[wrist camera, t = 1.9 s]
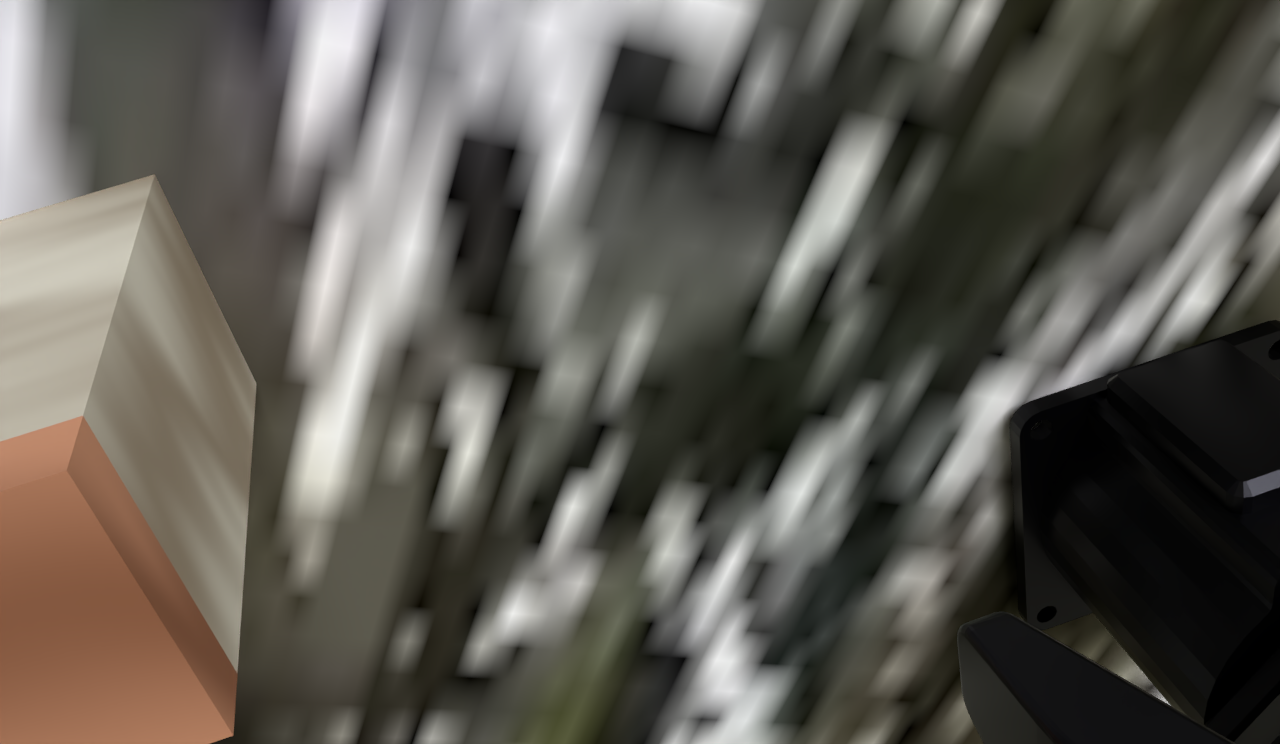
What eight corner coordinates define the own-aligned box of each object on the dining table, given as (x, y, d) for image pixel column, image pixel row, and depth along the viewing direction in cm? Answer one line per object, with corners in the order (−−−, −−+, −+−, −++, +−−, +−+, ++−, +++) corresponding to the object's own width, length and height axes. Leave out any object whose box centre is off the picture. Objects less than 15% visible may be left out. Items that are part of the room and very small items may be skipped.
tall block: (256, 383, 20) (233, 735, 13) (25, 456, 20) (-117, 855, 13) (154, 174, 18) (67, 471, 11) (-108, 252, 18) (-359, 605, 11)
